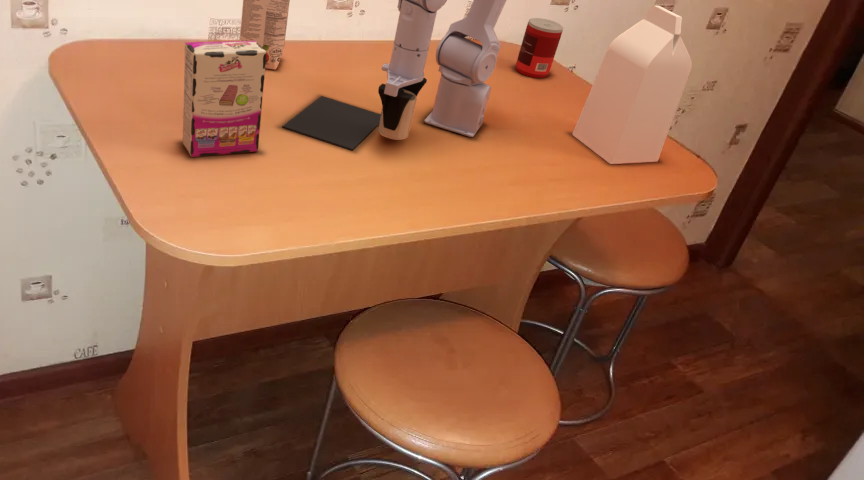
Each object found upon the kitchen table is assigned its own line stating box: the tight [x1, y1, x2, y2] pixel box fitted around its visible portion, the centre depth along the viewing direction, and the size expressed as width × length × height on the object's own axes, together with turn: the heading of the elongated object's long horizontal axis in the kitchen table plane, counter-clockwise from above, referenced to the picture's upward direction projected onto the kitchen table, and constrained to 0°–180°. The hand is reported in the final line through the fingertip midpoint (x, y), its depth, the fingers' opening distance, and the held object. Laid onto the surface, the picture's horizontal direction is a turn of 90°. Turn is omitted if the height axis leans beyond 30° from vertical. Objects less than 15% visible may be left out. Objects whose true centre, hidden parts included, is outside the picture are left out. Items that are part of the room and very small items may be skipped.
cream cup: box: [377, 89, 418, 141], centre depth 135 cm, size 5×5×7 cm
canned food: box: [515, 17, 564, 79], centre depth 176 cm, size 8×8×11 cm
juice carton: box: [239, 0, 291, 70], centre depth 151 cm, size 8×9×19 cm
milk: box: [571, 5, 693, 165], centre depth 144 cm, size 12×12×26 cm
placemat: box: [281, 95, 381, 151], centre depth 139 cm, size 13×17×1 cm
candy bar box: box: [182, 40, 266, 158], centre depth 120 cm, size 11×5×16 cm, turn 118°
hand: (395, 122), depth 135 cm, fingers closed on cream cup, 5 cm apart
